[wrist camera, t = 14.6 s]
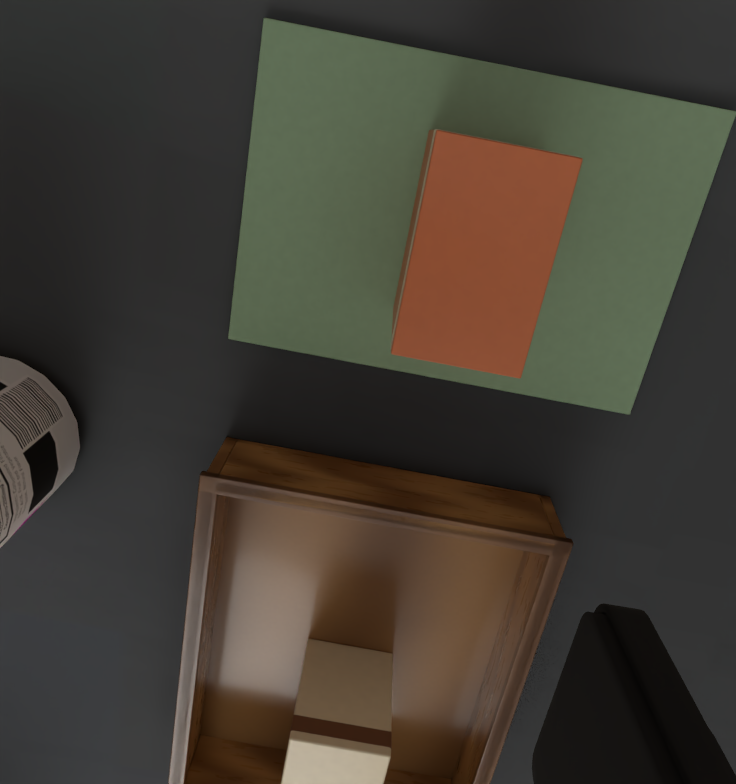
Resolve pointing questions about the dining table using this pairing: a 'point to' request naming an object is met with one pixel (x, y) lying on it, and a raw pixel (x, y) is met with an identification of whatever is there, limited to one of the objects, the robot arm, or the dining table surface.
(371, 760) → the block
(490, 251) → the block
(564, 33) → the dining table surface
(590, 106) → the mat
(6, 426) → the supplement can
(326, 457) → the wooden tray
